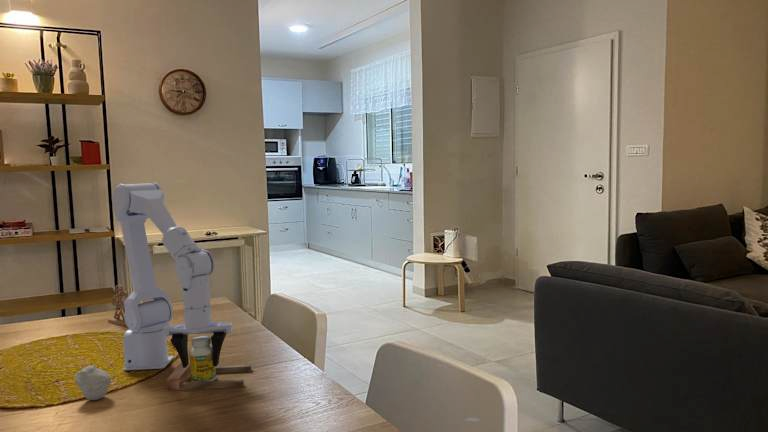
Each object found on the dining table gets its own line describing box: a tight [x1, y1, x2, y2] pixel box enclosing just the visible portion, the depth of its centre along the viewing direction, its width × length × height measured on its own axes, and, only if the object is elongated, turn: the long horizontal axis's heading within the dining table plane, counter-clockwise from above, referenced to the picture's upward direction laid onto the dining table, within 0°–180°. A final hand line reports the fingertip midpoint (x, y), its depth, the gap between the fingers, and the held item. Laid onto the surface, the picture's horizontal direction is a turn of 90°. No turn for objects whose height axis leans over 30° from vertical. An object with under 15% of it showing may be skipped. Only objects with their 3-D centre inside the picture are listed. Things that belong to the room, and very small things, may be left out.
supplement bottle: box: [188, 335, 217, 382], centre depth 129 cm, size 5×5×10 cm
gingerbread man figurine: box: [107, 284, 129, 327], centre depth 178 cm, size 9×4×12 cm, turn 56°
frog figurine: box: [74, 365, 112, 401], centre depth 120 cm, size 6×7×7 cm
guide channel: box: [166, 361, 252, 391], centre depth 129 cm, size 16×10×2 cm, turn 93°
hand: (200, 365), depth 129 cm, fingers open, 6 cm apart
